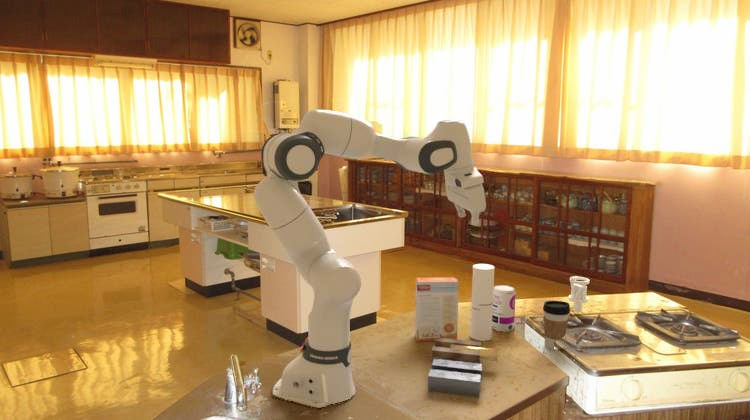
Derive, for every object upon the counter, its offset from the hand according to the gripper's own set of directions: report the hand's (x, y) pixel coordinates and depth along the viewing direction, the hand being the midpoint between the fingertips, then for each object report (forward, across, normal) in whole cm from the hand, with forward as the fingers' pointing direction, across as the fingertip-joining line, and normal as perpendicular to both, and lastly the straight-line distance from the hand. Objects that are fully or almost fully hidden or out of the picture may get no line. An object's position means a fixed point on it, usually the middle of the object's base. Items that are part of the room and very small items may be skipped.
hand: (468, 220), depth 159 cm
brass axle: (+40, +4, -8) cm, 41 cm away
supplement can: (+51, -22, +13) cm, 57 cm away
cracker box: (+44, -19, -13) cm, 50 cm away
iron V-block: (+41, +14, -18) cm, 47 cm away
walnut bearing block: (+43, +2, -13) cm, 45 cm away
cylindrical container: (+48, -16, +2) cm, 51 cm away
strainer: (+60, -28, +47) cm, 82 cm away
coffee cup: (+52, -3, +22) cm, 57 cm away
